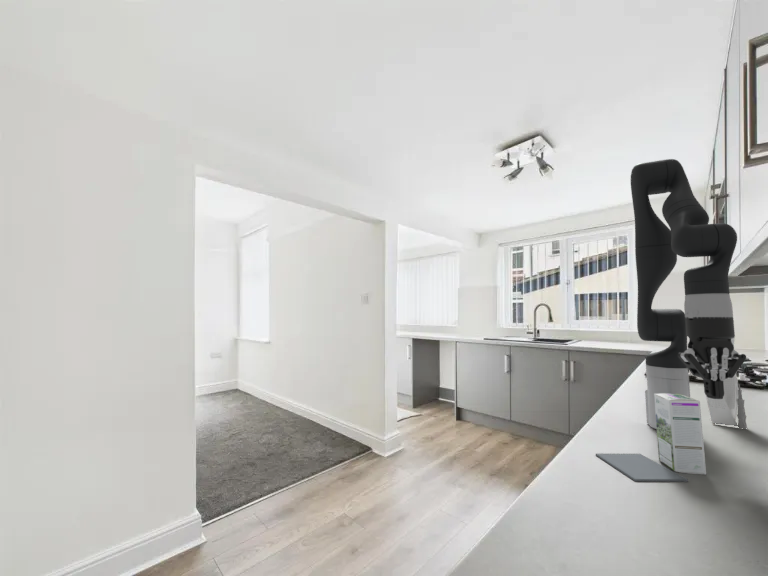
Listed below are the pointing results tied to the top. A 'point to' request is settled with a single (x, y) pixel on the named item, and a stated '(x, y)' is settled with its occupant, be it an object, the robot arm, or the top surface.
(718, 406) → the skyscraper
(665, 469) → the mat
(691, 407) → the syrup box
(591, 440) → the top surface
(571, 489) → the top surface
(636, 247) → the robot arm
